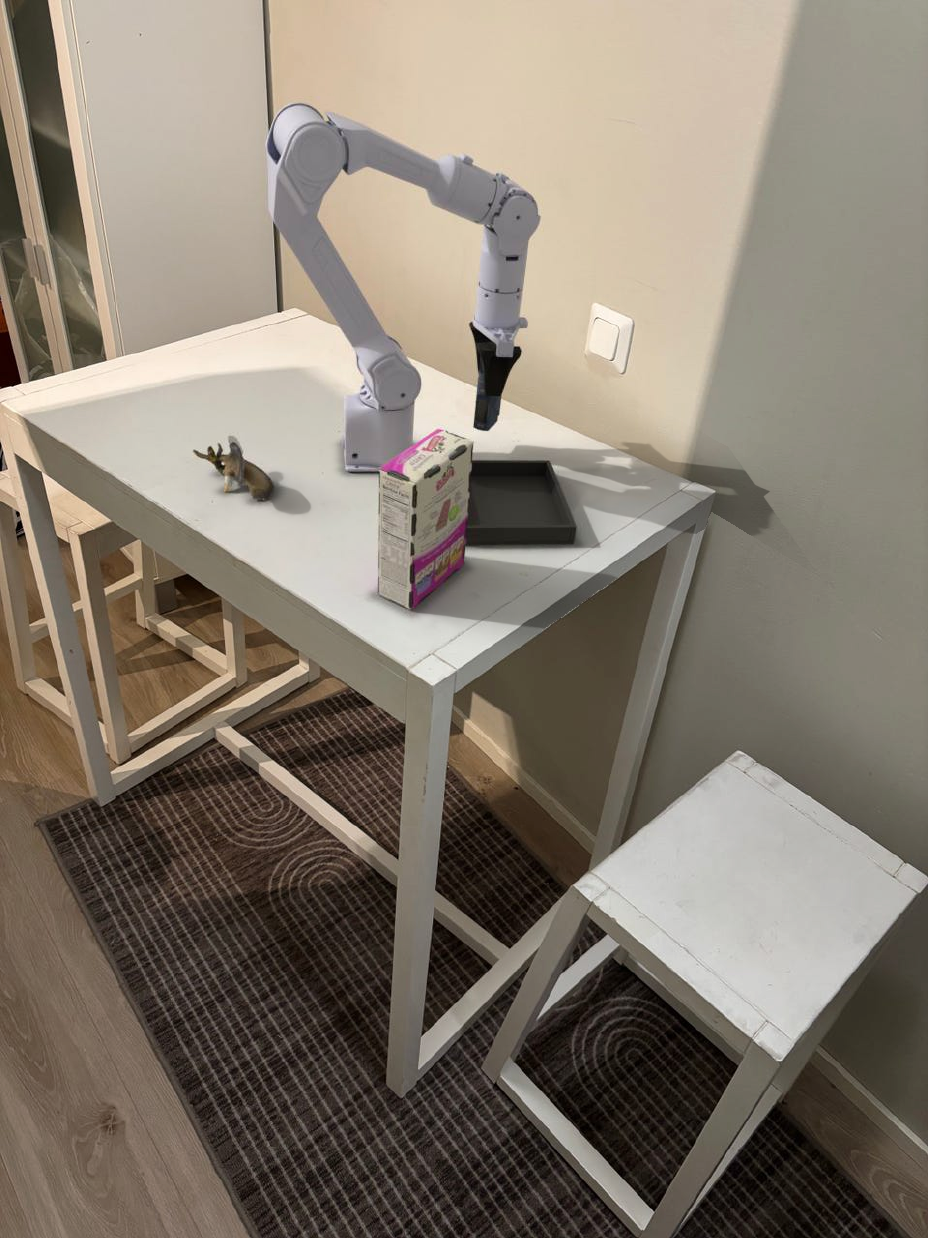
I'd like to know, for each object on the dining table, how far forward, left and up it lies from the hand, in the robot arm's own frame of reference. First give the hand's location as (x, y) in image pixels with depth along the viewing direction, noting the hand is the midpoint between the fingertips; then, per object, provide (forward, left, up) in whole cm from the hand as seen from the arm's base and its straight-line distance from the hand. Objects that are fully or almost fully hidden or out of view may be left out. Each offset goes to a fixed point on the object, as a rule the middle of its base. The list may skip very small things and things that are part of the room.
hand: (489, 386), depth 129 cm
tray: (+1, -16, -9) cm, 18 cm away
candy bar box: (-12, -31, -10) cm, 34 cm away
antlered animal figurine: (-33, -10, -10) cm, 36 cm away
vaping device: (0, 0, -6) cm, 6 cm away
